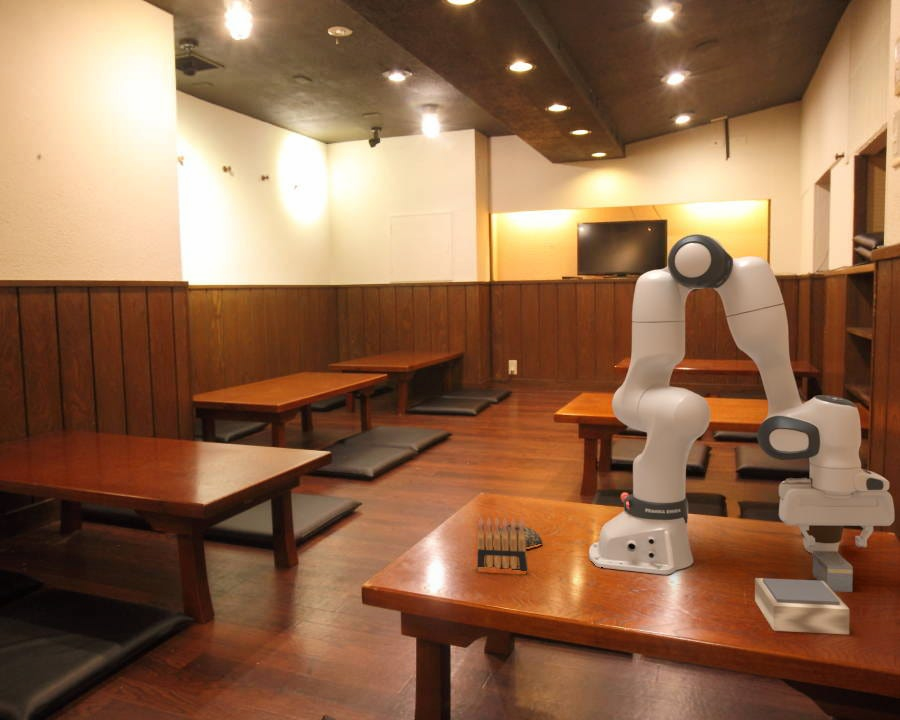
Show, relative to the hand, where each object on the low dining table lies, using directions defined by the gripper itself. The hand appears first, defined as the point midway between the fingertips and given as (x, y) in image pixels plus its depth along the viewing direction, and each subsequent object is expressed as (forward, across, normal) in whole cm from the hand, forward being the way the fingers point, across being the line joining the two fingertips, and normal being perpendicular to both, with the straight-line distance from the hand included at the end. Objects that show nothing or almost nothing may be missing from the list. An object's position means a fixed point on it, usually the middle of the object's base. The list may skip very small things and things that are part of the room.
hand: (835, 545), depth 135 cm
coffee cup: (+8, +3, +18) cm, 20 cm away
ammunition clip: (+6, -67, -1) cm, 67 cm away
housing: (+8, -1, 0) cm, 8 cm away
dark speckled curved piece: (+7, -66, +17) cm, 68 cm away
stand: (+7, -12, -16) cm, 21 cm away
